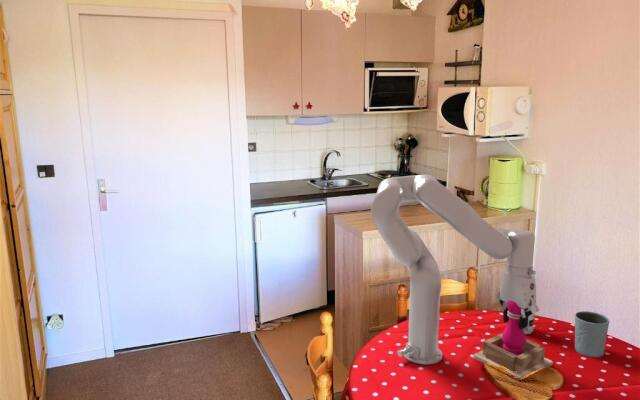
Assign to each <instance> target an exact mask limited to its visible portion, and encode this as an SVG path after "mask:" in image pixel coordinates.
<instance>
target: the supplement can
mask: <svg viewBox="0 0 640 400" xmlns="http://www.w3.org/2000/svg"><path fill="white" fill-rule="evenodd" d="M529 309H530V310H531V309H532V307H531V306H529ZM525 312H526V311H525ZM535 315H536V312H535V313H533V314H532V315H530V316H528V326H527V327H526V328H524V329H523V330H524V333H525V335H529V334H531V333H532V332H533V331H534V324H535Z"/></svg>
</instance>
